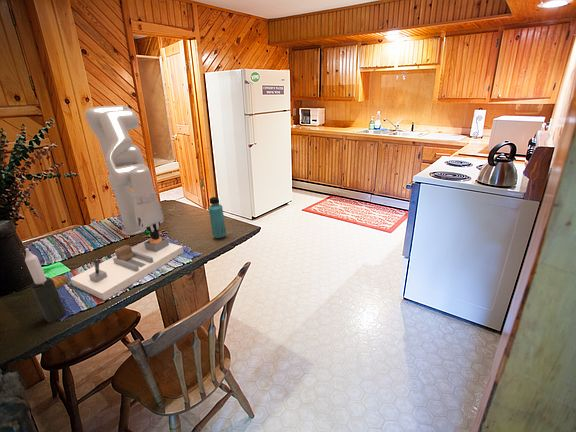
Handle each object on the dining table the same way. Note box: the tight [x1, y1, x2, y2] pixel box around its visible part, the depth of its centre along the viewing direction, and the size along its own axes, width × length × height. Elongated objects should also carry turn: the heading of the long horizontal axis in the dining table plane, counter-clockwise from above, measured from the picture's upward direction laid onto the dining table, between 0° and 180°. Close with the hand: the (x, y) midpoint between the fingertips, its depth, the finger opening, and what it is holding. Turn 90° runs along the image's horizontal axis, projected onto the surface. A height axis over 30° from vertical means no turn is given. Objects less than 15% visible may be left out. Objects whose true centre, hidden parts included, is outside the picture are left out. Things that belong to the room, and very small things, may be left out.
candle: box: [24, 247, 67, 324], centre depth 94 cm, size 5×5×25 cm
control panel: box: [70, 237, 184, 302], centre depth 123 cm, size 20×36×6 cm, turn 151°
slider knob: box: [114, 244, 134, 261], centre depth 123 cm, size 3×5×5 cm, turn 151°
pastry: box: [49, 275, 68, 290], centre depth 114 cm, size 9×7×4 cm
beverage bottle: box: [208, 196, 227, 239], centre depth 142 cm, size 6×7×20 cm
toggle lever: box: [93, 258, 101, 274], centre depth 110 cm, size 2×2×7 cm
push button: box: [148, 235, 163, 245], centre depth 133 cm, size 5×5×4 cm
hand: (155, 238), depth 132 cm, fingers closed
